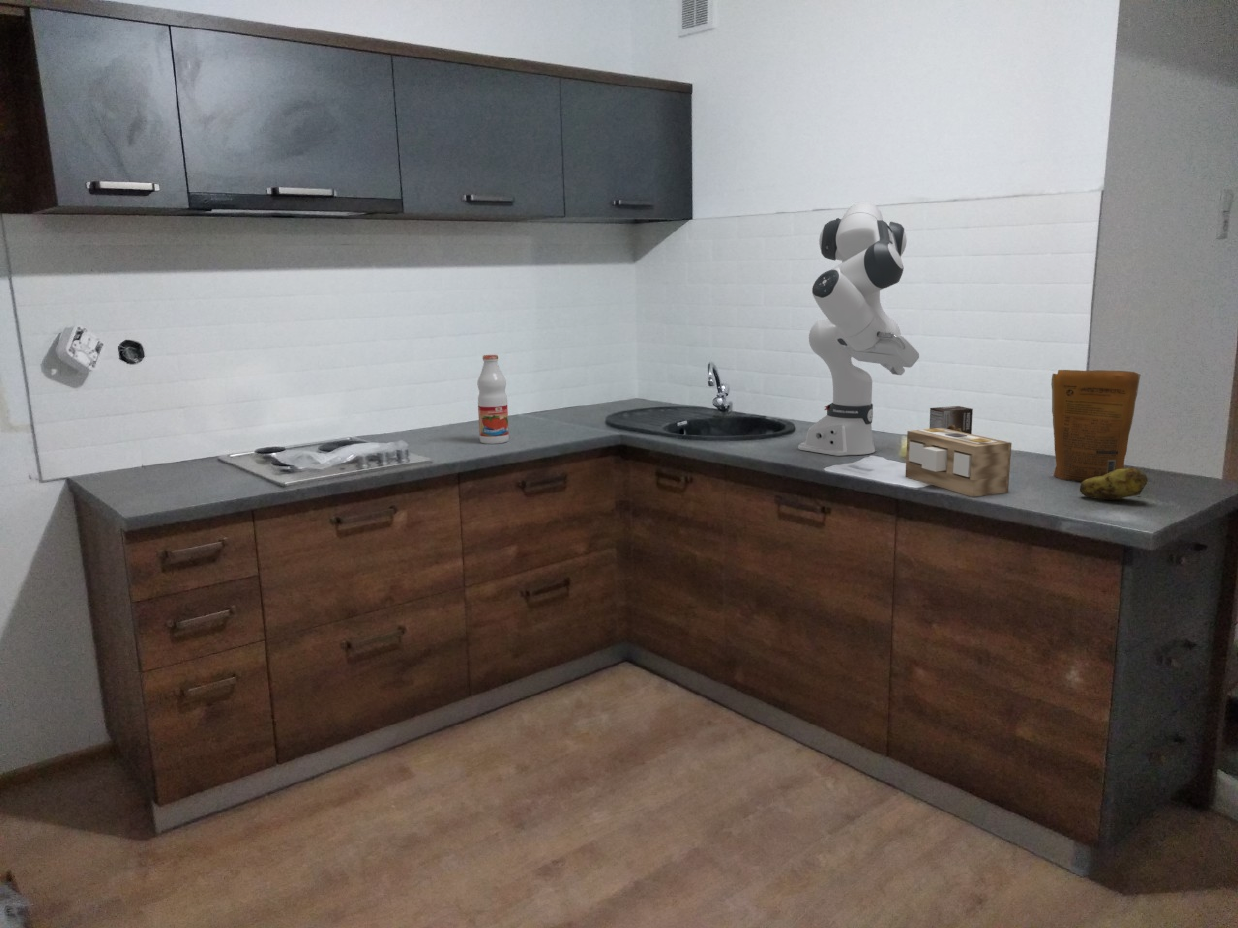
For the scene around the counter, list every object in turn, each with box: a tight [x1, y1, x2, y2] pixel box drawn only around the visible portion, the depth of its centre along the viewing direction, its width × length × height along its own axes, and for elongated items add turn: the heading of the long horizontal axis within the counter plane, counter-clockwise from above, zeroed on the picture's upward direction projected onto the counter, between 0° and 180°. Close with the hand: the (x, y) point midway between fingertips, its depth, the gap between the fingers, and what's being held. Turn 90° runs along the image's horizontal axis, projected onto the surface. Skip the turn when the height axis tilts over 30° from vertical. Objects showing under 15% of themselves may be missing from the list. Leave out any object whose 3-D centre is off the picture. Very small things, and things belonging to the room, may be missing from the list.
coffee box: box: [928, 405, 974, 434], centre depth 246 cm, size 9×6×16 cm
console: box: [904, 428, 1013, 498], centre depth 226 cm, size 11×24×12 cm, turn 22°
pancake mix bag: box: [1050, 369, 1141, 483], centre depth 224 cm, size 7×19×28 cm, turn 47°
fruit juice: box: [477, 354, 510, 445], centre depth 294 cm, size 9×9×28 cm
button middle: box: [922, 446, 948, 472], centre depth 224 cm, size 9×5×5 cm, turn 112°
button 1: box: [909, 441, 925, 464], centre depth 233 cm, size 9×5×5 cm, turn 112°
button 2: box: [953, 452, 972, 477], centre depth 218 cm, size 9×5×5 cm, turn 112°
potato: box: [1079, 467, 1149, 500], centre depth 208 cm, size 8×13×8 cm, turn 37°
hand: (899, 372), depth 210 cm, fingers closed
